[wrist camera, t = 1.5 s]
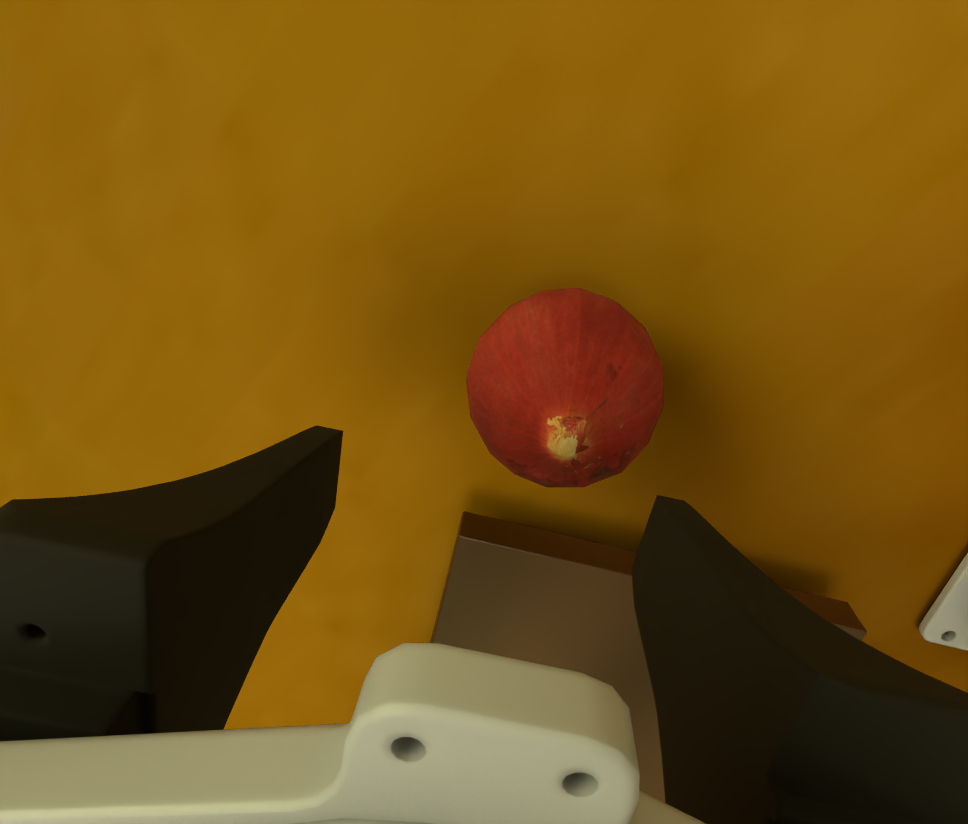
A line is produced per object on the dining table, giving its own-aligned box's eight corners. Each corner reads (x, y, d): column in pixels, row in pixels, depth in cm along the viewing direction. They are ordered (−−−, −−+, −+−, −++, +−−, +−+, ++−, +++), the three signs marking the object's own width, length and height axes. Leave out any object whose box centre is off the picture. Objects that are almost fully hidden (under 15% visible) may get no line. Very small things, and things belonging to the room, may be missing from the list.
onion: (668, 387, 23) (729, 506, 15) (523, 448, 24) (515, 584, 17) (603, 238, 21) (638, 292, 13) (450, 313, 22) (406, 400, 15)
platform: (832, 578, 25) (868, 632, 22) (664, 873, 33) (675, 939, 31) (467, 491, 25) (458, 534, 22) (387, 810, 33) (373, 870, 30)
